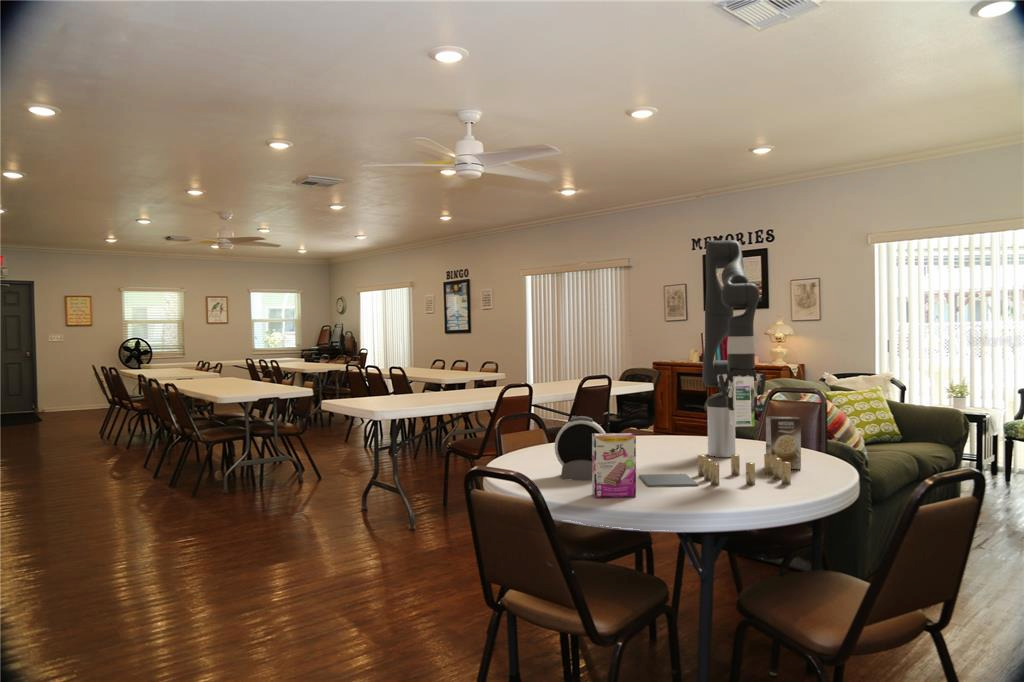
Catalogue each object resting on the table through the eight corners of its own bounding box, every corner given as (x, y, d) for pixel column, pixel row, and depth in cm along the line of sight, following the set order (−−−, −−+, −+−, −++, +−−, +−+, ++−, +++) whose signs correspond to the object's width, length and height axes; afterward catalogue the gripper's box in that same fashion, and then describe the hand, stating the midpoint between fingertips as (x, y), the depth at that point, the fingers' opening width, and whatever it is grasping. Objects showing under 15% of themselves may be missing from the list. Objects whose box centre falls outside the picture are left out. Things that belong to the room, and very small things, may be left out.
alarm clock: (554, 480, 200) (553, 418, 200) (557, 473, 210) (556, 414, 210) (609, 480, 198) (608, 418, 198) (609, 473, 208) (608, 414, 208)
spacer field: (697, 474, 204) (696, 455, 204) (771, 473, 204) (770, 453, 204) (712, 486, 189) (711, 464, 189) (792, 484, 189) (791, 463, 189)
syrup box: (734, 427, 194) (734, 376, 193) (729, 424, 200) (728, 375, 199) (755, 426, 193) (754, 376, 193) (748, 423, 199) (748, 374, 199)
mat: (639, 476, 203) (639, 474, 203) (685, 475, 203) (685, 473, 203) (648, 486, 189) (648, 484, 189) (698, 486, 189) (698, 483, 189)
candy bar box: (594, 498, 176) (593, 436, 176) (591, 494, 181) (590, 433, 181) (637, 497, 177) (636, 435, 177) (633, 493, 182) (632, 432, 182)
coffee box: (771, 470, 209) (770, 418, 209) (765, 466, 216) (764, 416, 215) (801, 470, 208) (801, 418, 208) (795, 466, 215) (794, 416, 215)
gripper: (760, 351, 200) (761, 408, 200) (712, 352, 200) (713, 408, 200) (770, 352, 192) (771, 411, 193) (720, 352, 192) (720, 411, 193)
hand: (741, 409), depth 196 cm, fingers closed on syrup box, 5 cm apart
